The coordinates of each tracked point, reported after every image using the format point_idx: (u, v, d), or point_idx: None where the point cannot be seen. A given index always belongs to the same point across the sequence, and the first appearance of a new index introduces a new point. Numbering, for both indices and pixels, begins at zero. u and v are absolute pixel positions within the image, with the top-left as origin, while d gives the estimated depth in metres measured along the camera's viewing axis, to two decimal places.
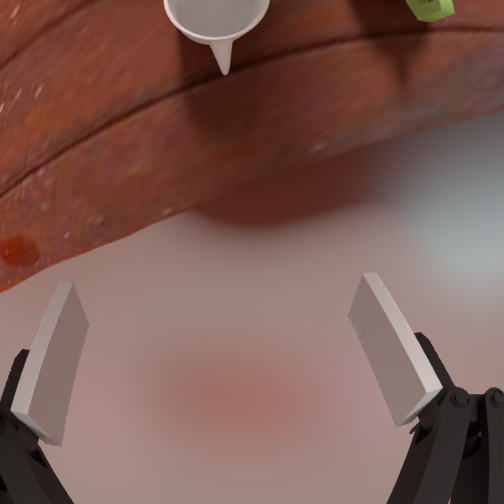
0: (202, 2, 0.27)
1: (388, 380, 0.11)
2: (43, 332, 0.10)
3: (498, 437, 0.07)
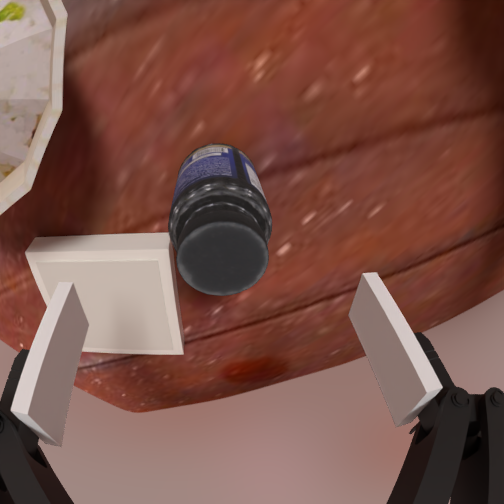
0: None
1: (388, 380, 0.11)
2: (43, 332, 0.10)
3: (498, 437, 0.07)
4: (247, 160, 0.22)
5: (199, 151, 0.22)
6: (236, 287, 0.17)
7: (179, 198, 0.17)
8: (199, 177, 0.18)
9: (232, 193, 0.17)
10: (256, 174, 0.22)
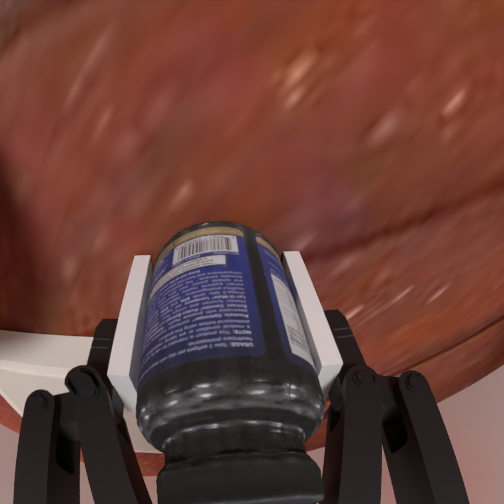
0: None
1: None
2: (130, 299, 0.12)
3: (426, 425, 0.08)
4: (272, 258, 0.13)
5: (185, 242, 0.12)
6: None
7: (149, 396, 0.08)
8: (186, 348, 0.08)
9: (257, 402, 0.07)
10: (287, 283, 0.13)
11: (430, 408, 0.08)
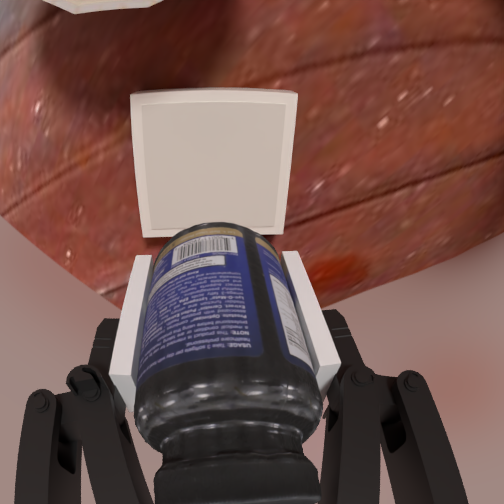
0: None
1: None
2: (132, 299, 0.12)
3: (424, 425, 0.08)
4: (271, 259, 0.13)
5: (184, 243, 0.12)
6: None
7: (147, 395, 0.08)
8: (183, 348, 0.08)
9: (254, 403, 0.07)
10: (286, 284, 0.13)
11: (428, 408, 0.08)
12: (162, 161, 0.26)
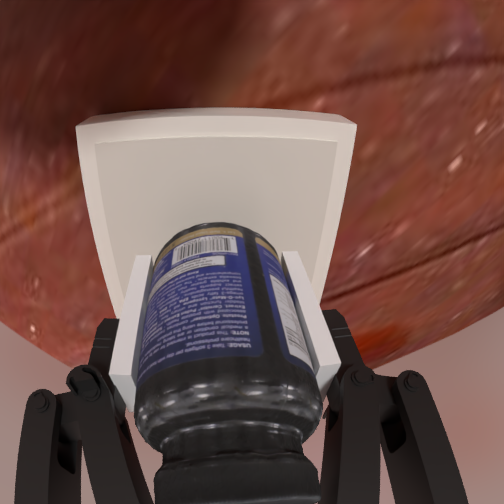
0: None
1: None
2: (132, 299, 0.12)
3: (424, 425, 0.08)
4: (271, 259, 0.13)
5: (184, 243, 0.12)
6: None
7: (147, 395, 0.08)
8: (184, 348, 0.08)
9: (254, 403, 0.07)
10: (286, 284, 0.13)
11: (428, 408, 0.08)
12: (135, 233, 0.17)
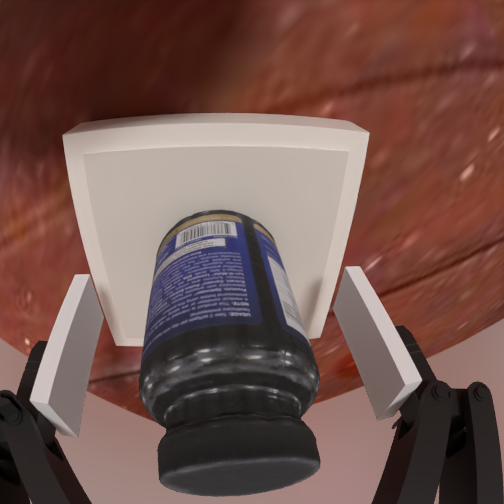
0: None
1: (369, 372, 0.12)
2: (61, 323, 0.10)
3: (484, 432, 0.07)
4: (268, 243, 0.14)
5: (187, 228, 0.13)
6: (260, 490, 0.08)
7: (153, 364, 0.08)
8: (188, 318, 0.09)
9: (254, 367, 0.08)
10: (283, 267, 0.14)
11: (489, 419, 0.07)
12: (129, 250, 0.15)
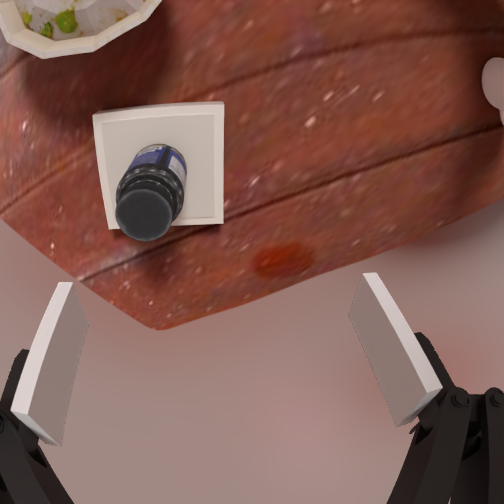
0: None
1: (388, 380, 0.11)
2: (43, 332, 0.10)
3: (498, 437, 0.07)
4: (176, 154, 0.30)
5: (143, 149, 0.30)
6: (154, 234, 0.25)
7: (121, 179, 0.25)
8: (135, 165, 0.25)
9: (151, 173, 0.24)
10: (182, 163, 0.30)
11: None
12: (119, 166, 0.32)
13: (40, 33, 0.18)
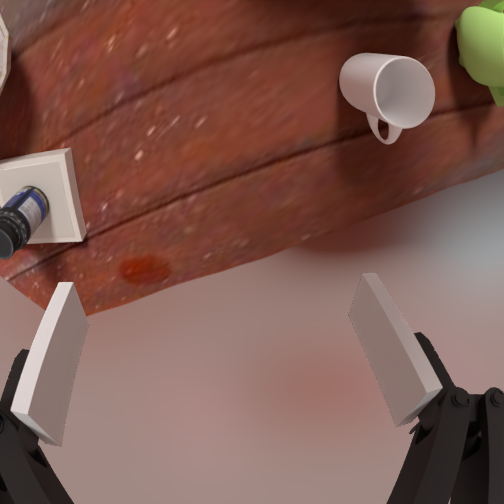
0: None
1: (388, 380, 0.11)
2: (43, 332, 0.10)
3: (498, 437, 0.07)
4: (35, 194, 0.36)
5: None
6: (7, 255, 0.30)
7: None
8: (1, 208, 0.31)
9: (5, 215, 0.30)
10: (38, 201, 0.36)
11: None
12: None
13: None
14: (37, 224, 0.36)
